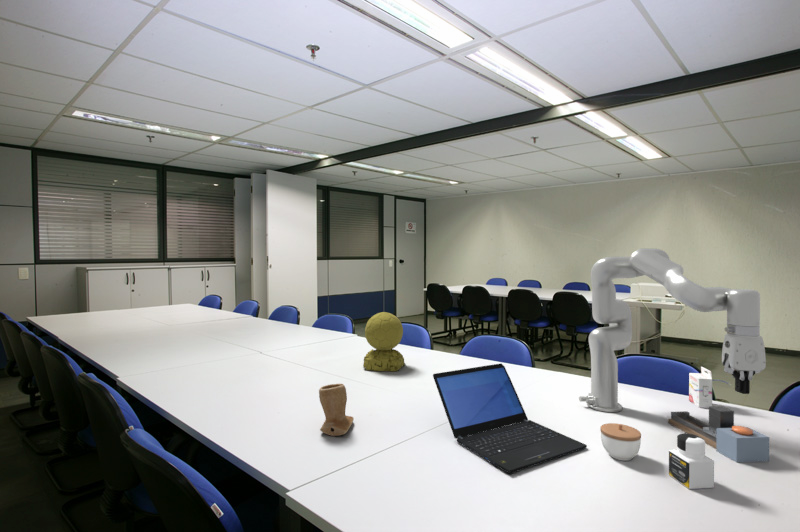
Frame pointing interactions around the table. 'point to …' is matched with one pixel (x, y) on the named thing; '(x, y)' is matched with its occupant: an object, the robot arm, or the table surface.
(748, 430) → the button
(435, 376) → the laptop
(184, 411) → the table surface
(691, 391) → the ink cartridge box
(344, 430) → the tan hollow upright piece
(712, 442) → the slide rail track
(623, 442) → the lidded jar
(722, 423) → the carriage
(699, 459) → the medicine bottle
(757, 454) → the button housing
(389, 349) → the trophy
